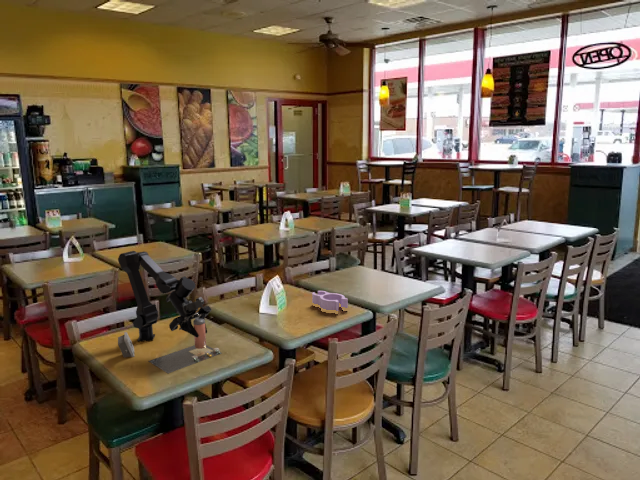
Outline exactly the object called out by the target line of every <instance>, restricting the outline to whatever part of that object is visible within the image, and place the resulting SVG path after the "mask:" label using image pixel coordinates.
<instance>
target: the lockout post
mask: <svg viewBox="0 0 640 480" xmlns="http://www.w3.org/2000/svg"><path fill="white" fill-rule="evenodd" d="M205 324H206V320H205V319H195V318H194V319H193V323H192V325H193V327H194V329H195V330H196V332H197V333H198V335H199V336H198V337H195V336H193V337H194V345H195V348H197V349H202V348H205V347H206V345H207V338H206V334H207V333H205Z"/></svg>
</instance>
